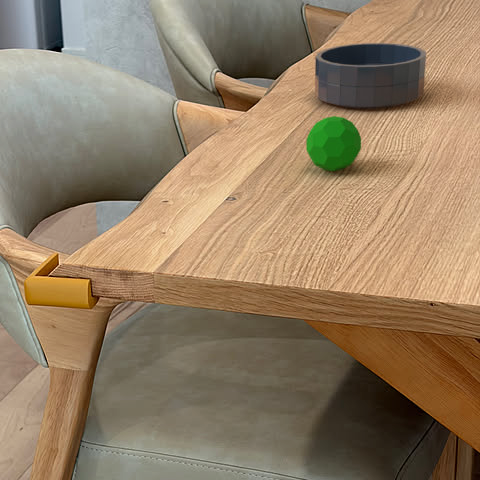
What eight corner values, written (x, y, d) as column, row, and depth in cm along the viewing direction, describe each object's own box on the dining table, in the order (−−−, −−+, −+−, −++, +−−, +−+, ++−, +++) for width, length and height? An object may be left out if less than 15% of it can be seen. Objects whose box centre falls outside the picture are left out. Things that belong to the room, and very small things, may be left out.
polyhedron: (316, 158, 89) (317, 109, 86) (366, 162, 86) (368, 113, 84) (299, 174, 85) (299, 124, 83) (350, 179, 83) (352, 128, 80)
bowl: (445, 94, 106) (448, 50, 104) (376, 117, 100) (378, 71, 97) (362, 79, 115) (363, 39, 113) (293, 100, 108) (293, 57, 106)
